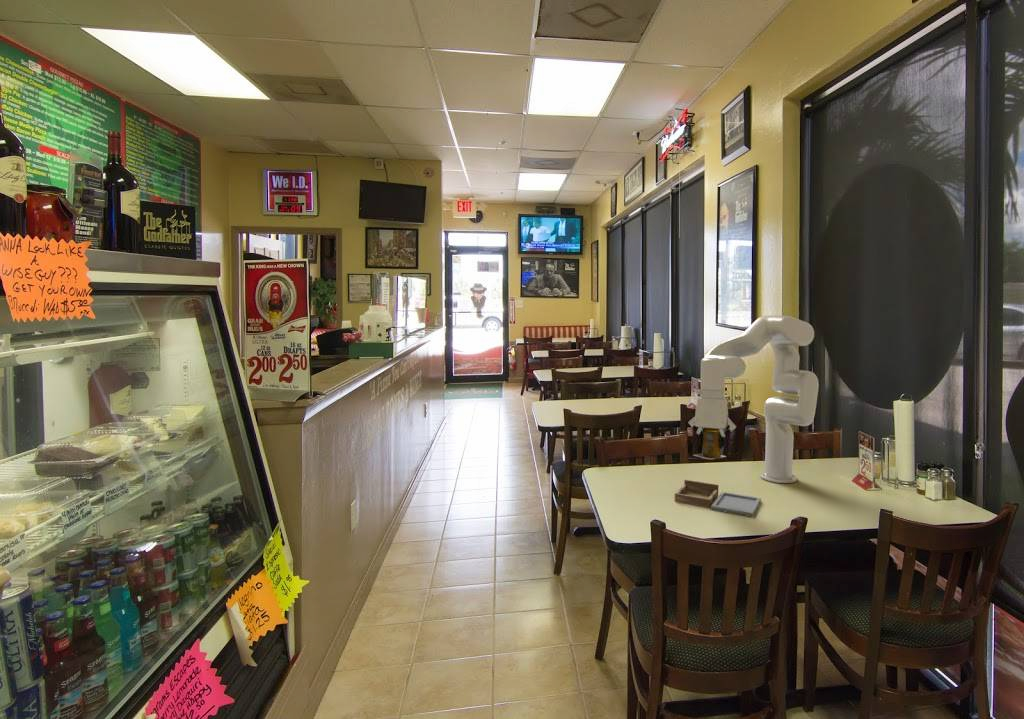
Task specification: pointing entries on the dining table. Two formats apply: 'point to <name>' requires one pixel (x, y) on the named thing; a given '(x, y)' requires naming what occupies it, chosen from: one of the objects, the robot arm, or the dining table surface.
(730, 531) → the dining table surface
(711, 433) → the condiment
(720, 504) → the tray
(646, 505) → the dining table surface
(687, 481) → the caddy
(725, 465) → the dining table surface
